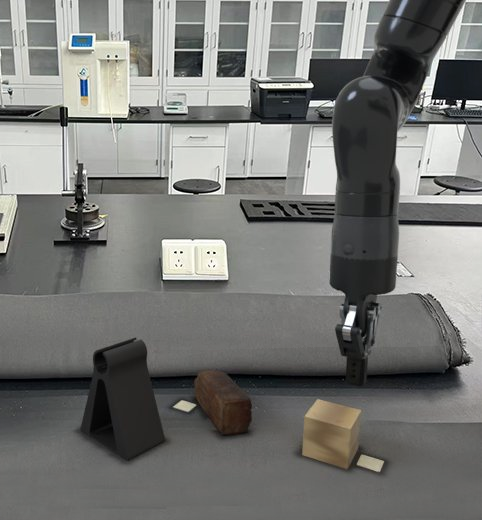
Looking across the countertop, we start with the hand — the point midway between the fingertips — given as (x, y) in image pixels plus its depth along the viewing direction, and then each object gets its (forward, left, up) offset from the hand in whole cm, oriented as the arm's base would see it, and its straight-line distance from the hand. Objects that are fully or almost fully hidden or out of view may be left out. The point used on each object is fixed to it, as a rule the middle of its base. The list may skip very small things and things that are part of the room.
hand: (355, 383), depth 68 cm
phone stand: (+22, +21, -5) cm, 31 cm away
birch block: (0, +10, -5) cm, 11 cm away
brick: (+15, +9, -5) cm, 18 cm away
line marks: (+7, +10, -5) cm, 13 cm away
